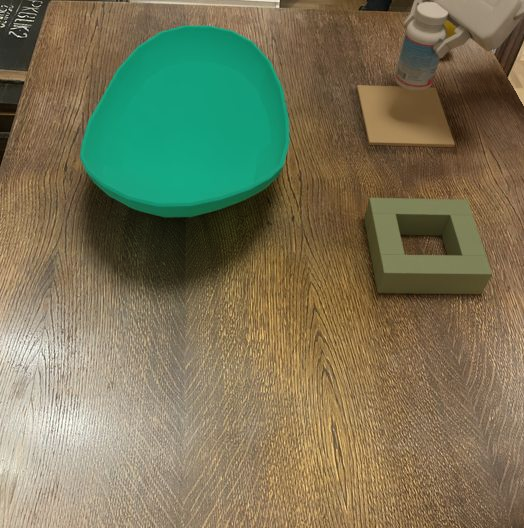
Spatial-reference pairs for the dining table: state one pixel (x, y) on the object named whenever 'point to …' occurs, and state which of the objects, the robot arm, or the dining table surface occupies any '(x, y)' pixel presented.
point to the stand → (426, 266)
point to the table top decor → (188, 124)
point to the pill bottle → (421, 47)
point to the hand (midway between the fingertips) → (420, 41)
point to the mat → (404, 117)
